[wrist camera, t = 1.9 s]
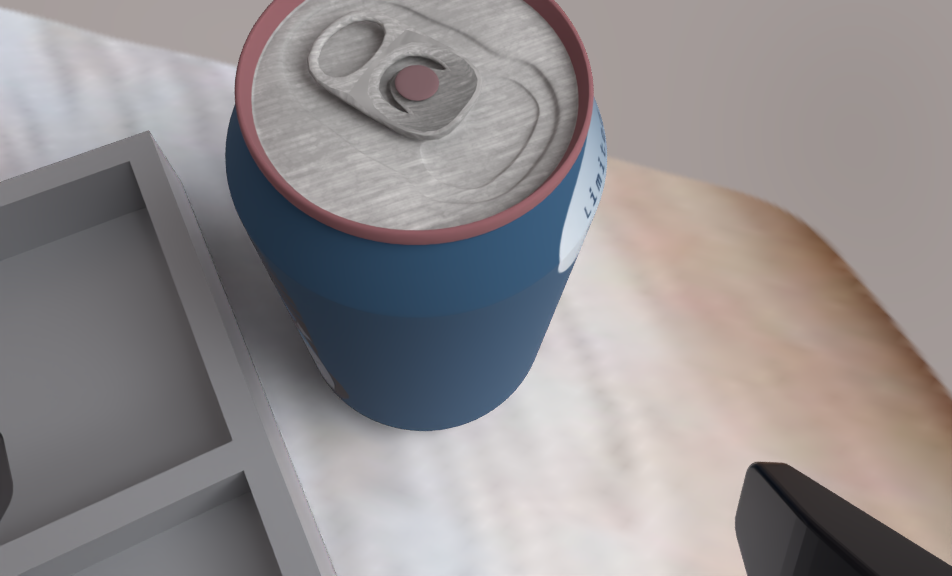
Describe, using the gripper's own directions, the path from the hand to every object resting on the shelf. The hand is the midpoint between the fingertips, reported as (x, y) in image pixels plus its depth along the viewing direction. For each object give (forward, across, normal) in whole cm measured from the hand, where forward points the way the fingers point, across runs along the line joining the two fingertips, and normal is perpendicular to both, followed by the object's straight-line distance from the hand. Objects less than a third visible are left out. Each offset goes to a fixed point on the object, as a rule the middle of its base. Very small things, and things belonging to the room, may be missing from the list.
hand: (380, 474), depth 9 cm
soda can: (+13, 0, +4) cm, 14 cm away
